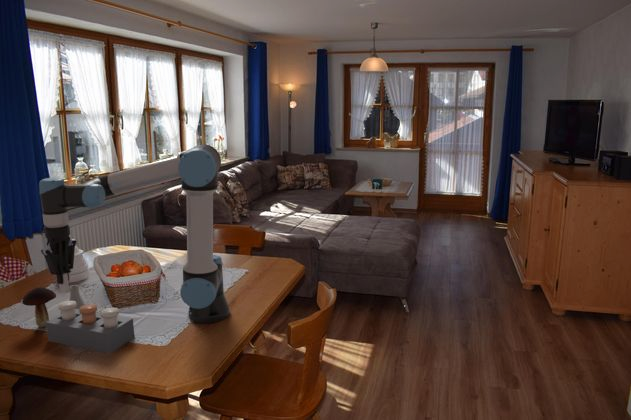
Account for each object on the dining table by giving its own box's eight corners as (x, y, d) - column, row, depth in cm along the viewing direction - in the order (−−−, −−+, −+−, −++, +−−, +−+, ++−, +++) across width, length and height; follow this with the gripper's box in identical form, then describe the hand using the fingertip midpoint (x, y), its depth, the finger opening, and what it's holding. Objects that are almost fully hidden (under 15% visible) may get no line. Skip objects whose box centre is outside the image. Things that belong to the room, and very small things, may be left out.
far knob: (82, 322, 183) (79, 301, 181) (70, 329, 177) (67, 308, 176) (69, 320, 184) (67, 299, 183) (57, 326, 179) (54, 306, 178)
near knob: (124, 329, 176) (122, 308, 175) (112, 337, 171) (110, 315, 170) (111, 327, 178) (108, 306, 177) (99, 334, 173) (96, 313, 171)
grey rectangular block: (134, 337, 180) (132, 318, 178) (110, 353, 169) (107, 333, 167) (75, 326, 189) (73, 308, 187) (48, 341, 178) (45, 322, 176)
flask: (79, 315, 198) (76, 290, 196) (62, 313, 199) (59, 289, 197) (91, 307, 205) (88, 283, 203) (74, 306, 206) (71, 282, 204)
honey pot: (95, 275, 239) (90, 237, 235) (69, 284, 229) (64, 245, 225) (78, 270, 246) (73, 233, 242) (52, 279, 236) (46, 240, 231)
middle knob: (103, 326, 180) (100, 305, 178) (91, 333, 174) (88, 311, 173) (90, 323, 181) (87, 303, 180) (77, 330, 176) (75, 309, 175)
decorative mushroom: (37, 336, 181) (31, 296, 178) (19, 328, 187) (13, 289, 184) (66, 324, 190) (61, 285, 187) (48, 317, 196) (43, 279, 193)
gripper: (63, 219, 180) (70, 283, 185) (31, 228, 168) (40, 297, 173) (80, 221, 177) (87, 286, 183) (49, 230, 165) (58, 300, 171)
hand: (64, 291), depth 178 cm, fingers closed
